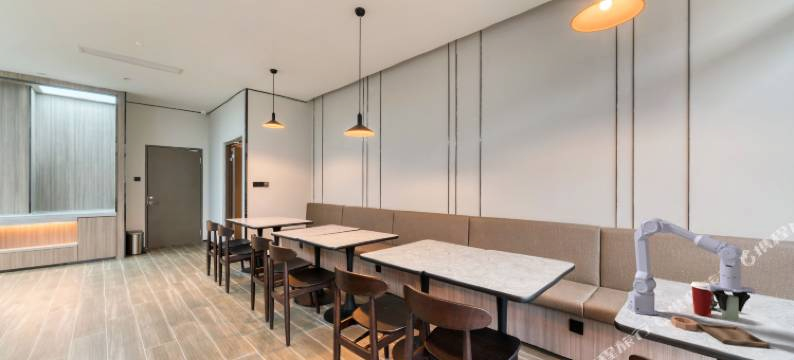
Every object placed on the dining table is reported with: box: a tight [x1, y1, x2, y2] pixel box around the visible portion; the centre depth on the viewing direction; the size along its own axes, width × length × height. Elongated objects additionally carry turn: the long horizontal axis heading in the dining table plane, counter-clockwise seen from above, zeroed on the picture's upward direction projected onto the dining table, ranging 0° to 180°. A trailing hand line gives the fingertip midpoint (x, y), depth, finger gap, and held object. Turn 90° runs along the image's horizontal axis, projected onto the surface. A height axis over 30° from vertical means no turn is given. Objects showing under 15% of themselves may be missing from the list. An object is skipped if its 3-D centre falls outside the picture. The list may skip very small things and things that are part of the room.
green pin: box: [721, 293, 740, 322], centre depth 120 cm, size 4×4×9 cm
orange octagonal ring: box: [670, 315, 698, 332], centre depth 129 cm, size 8×8×2 cm
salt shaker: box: [711, 294, 719, 312], centre depth 146 cm, size 6×6×12 cm
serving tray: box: [696, 322, 771, 349], centre depth 120 cm, size 14×14×1 cm
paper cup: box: [690, 281, 713, 318], centre depth 140 cm, size 8×8×14 cm
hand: (730, 310), depth 120 cm, fingers closed on green pin, 4 cm apart
